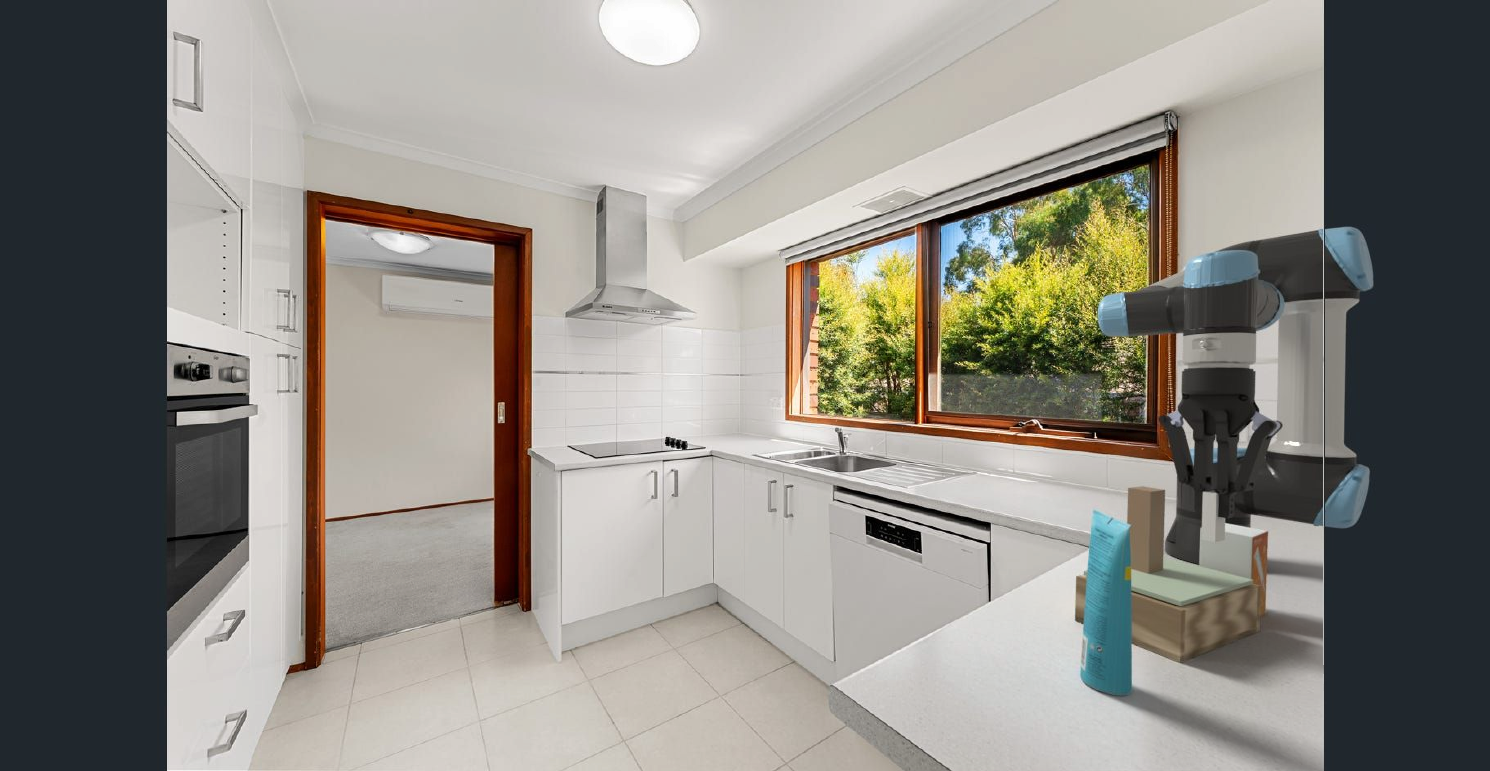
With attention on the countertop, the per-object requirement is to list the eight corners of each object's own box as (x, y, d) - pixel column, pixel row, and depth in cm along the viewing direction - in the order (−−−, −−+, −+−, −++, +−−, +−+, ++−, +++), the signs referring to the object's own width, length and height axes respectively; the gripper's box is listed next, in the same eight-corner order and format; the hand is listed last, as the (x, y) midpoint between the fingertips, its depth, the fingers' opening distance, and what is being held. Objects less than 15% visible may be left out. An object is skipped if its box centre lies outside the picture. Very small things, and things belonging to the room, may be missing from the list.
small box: (1251, 625, 78) (1253, 536, 78) (1196, 609, 83) (1198, 526, 83) (1267, 613, 82) (1269, 530, 82) (1214, 599, 88) (1216, 520, 88)
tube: (1150, 704, 57) (1155, 525, 57) (1104, 702, 57) (1109, 523, 57) (1105, 667, 64) (1109, 509, 64) (1064, 666, 64) (1068, 508, 64)
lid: (1157, 558, 87) (1159, 481, 87) (1253, 584, 76) (1255, 496, 76) (1083, 575, 78) (1086, 489, 78) (1180, 606, 67) (1183, 506, 67)
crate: (1156, 597, 88) (1157, 558, 88) (1259, 630, 76) (1260, 585, 76) (1074, 620, 78) (1076, 576, 78) (1180, 662, 66) (1181, 610, 66)
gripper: (1148, 366, 76) (1144, 530, 76) (1269, 364, 65) (1264, 557, 65) (1175, 369, 80) (1171, 525, 80) (1294, 367, 68) (1290, 550, 68)
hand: (1213, 539), depth 72 cm, fingers closed
